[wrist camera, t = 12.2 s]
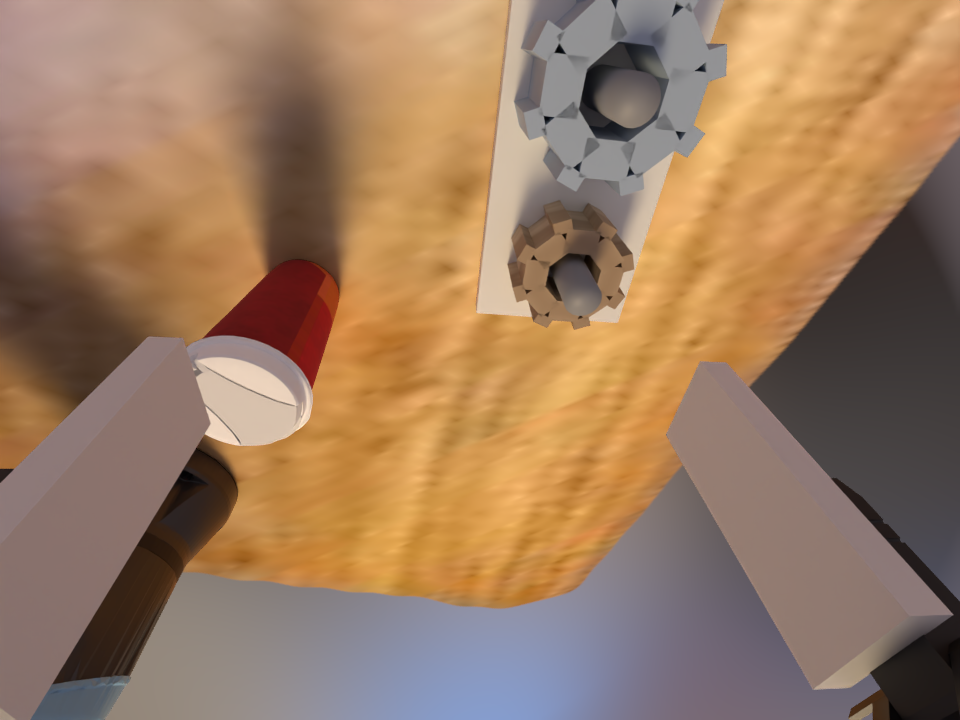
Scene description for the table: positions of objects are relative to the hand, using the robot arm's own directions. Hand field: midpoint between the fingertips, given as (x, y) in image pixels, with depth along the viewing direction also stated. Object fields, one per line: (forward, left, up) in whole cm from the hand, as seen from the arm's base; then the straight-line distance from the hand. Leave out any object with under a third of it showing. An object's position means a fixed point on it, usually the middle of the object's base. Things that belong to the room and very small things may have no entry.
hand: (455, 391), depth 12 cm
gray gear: (+8, +6, -23) cm, 25 cm away
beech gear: (+8, -5, -23) cm, 25 cm away
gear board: (+8, 0, -24) cm, 26 cm away
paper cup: (-12, -11, -24) cm, 29 cm away
